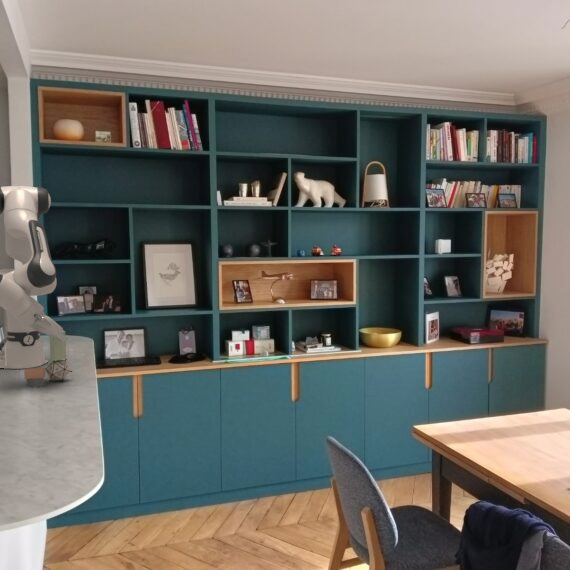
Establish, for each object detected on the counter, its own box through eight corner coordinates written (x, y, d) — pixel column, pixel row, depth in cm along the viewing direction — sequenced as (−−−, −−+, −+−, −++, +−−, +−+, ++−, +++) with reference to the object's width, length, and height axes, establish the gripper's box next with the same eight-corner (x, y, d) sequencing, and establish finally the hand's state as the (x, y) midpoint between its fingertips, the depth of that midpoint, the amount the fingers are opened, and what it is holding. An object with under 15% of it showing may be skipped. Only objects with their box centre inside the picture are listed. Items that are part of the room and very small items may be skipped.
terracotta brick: (24, 378, 196) (24, 370, 196) (27, 376, 199) (27, 368, 199) (42, 378, 197) (42, 369, 197) (45, 376, 200) (45, 367, 200)
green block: (50, 359, 204) (49, 331, 204) (61, 357, 207) (60, 330, 207) (54, 360, 202) (54, 332, 201) (65, 359, 204) (65, 331, 204)
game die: (63, 390, 207) (81, 367, 209) (52, 387, 199) (70, 363, 201) (45, 376, 209) (63, 353, 211) (33, 373, 201) (51, 349, 203)
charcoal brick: (26, 385, 199) (26, 377, 199) (35, 384, 201) (35, 375, 201) (35, 388, 195) (35, 379, 195) (43, 386, 197) (43, 378, 197)
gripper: (48, 309, 191) (77, 335, 198) (26, 304, 206) (54, 328, 213) (34, 323, 188) (64, 349, 195) (14, 317, 203) (42, 342, 210)
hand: (59, 338), depth 204 cm, fingers open, 7 cm apart
